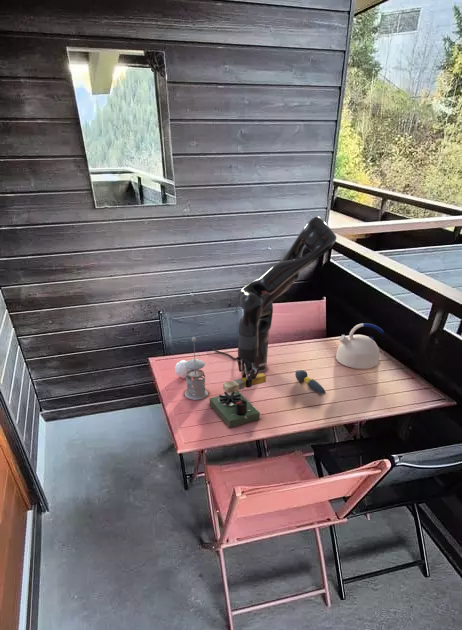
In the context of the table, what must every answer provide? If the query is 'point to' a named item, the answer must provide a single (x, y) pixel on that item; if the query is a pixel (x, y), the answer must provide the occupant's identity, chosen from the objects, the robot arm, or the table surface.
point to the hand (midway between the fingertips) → (246, 385)
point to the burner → (229, 399)
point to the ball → (181, 369)
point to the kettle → (358, 349)
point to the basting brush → (243, 383)
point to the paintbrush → (309, 381)
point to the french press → (195, 378)
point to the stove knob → (241, 407)
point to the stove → (234, 412)
